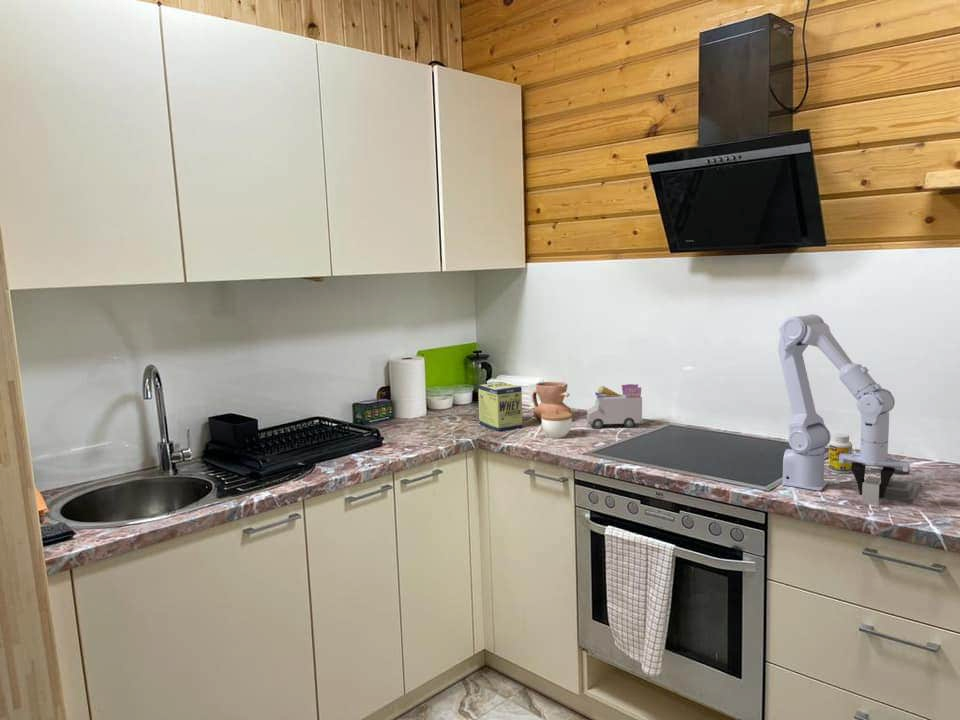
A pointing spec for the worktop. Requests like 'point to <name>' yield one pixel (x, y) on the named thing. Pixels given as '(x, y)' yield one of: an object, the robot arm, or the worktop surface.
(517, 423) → the protein box
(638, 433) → the worktop surface
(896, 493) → the chassis
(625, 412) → the toy vehicle
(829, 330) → the robot arm
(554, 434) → the lidded jar
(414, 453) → the worktop surface
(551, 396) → the ceramic jug
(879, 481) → the grey rectangular block
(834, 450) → the supplement bottle
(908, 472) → the wheel
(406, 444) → the worktop surface
